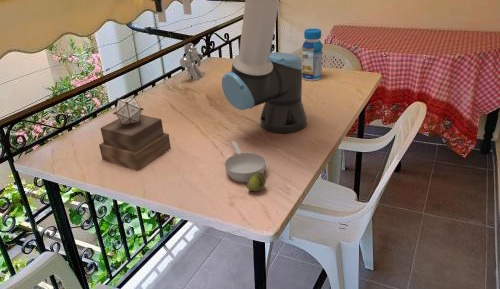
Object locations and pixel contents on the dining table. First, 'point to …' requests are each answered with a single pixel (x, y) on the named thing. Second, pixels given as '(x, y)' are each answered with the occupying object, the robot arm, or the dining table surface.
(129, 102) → the game die
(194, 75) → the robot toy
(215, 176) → the dining table surface
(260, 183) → the lime
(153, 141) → the walnut tower base
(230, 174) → the saucepan
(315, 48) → the beverage bottle
